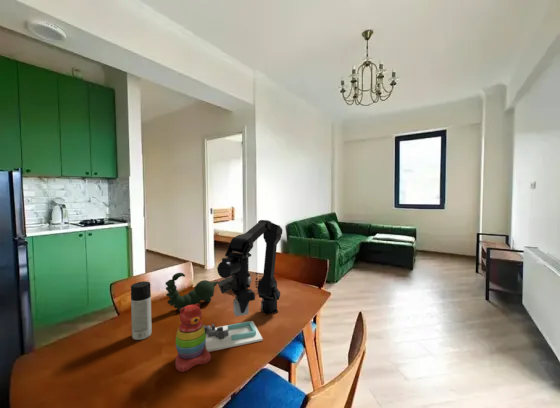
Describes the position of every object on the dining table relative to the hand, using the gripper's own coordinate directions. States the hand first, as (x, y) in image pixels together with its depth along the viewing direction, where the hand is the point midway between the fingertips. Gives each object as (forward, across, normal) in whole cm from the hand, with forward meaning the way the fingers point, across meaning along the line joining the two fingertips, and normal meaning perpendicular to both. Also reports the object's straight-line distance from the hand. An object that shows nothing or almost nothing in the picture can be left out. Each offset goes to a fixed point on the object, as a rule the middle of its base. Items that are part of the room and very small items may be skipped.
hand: (241, 310), depth 102 cm
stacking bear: (+10, +9, -19) cm, 23 cm away
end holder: (+9, 0, 0) cm, 9 cm away
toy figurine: (+10, -32, -16) cm, 37 cm away
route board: (+9, 0, -4) cm, 10 cm away
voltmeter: (+10, -43, +17) cm, 47 cm away
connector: (+1, 0, 0) cm, 1 cm away
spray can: (+10, -12, -36) cm, 39 cm away
